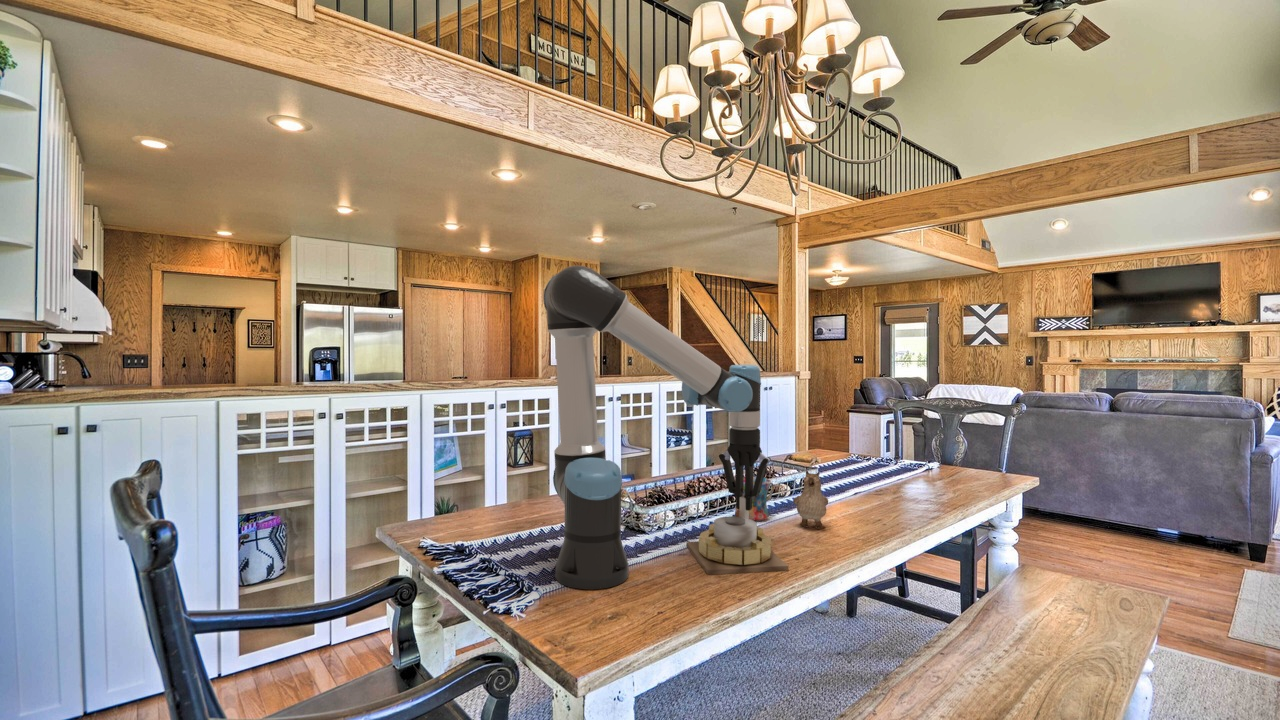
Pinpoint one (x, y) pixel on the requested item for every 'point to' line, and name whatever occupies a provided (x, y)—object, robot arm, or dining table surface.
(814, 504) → the figurine
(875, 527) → the dining table surface
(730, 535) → the housing
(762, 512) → the mug
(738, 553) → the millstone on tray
